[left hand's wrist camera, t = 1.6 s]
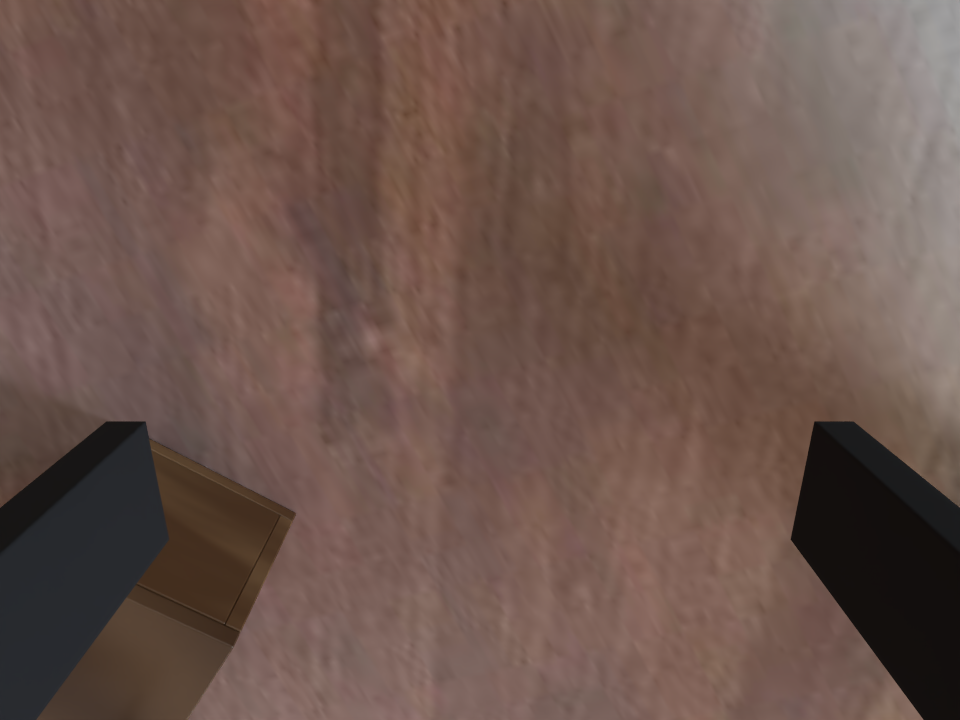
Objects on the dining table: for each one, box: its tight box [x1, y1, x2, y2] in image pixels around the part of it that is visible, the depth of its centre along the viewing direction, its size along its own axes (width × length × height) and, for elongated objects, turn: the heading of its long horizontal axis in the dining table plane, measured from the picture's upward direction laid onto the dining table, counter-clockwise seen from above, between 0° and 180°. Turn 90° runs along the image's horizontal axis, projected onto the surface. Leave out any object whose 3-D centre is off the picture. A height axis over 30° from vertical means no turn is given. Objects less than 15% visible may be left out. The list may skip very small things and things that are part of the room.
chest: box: [136, 439, 296, 634], centre depth 32 cm, size 14×9×9 cm
